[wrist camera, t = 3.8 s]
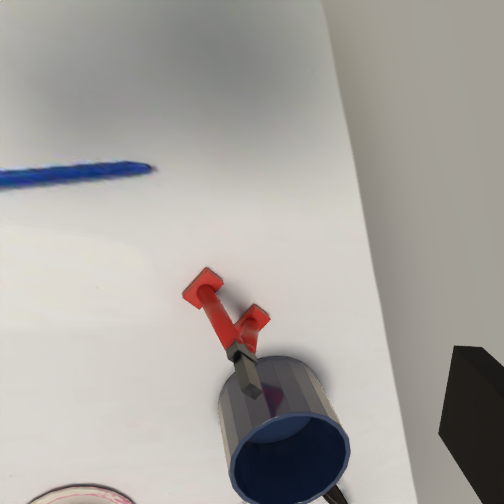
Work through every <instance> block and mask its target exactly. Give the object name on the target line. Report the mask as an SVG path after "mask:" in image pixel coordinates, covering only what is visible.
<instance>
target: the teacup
mask: <svg viewBox="0 0 504 504" xmlns="http://www.w3.org/2000/svg"><path fill="white" fill-rule="evenodd" d="M31 504H132V503H131V502H130V500H129V499H127V498H125V497H123V496H121V495H119V494H118V493H116V492H114V491H110V490H106V489H102V488H97V487H70V488H66V489H62V490H58V491H54V492H50V493H48V494H47V495H45V496H43V497H41V498H39V499H37V500H35V501H33V502H32V503H31Z"/></svg>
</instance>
